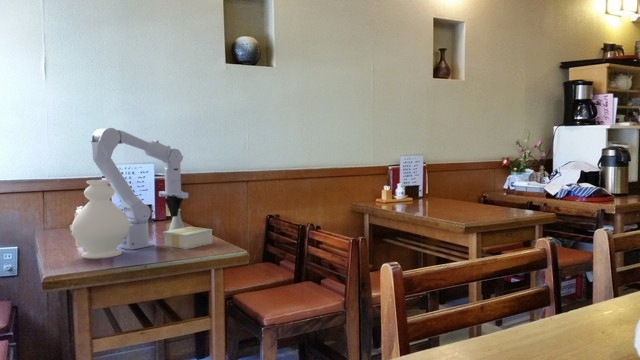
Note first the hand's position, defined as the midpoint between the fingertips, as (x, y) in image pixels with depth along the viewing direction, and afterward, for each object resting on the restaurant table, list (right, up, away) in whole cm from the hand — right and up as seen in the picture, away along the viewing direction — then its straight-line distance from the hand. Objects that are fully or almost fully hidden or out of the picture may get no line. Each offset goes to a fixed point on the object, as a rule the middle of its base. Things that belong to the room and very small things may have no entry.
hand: (174, 216), depth 197 cm
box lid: (+7, -5, -7) cm, 11 cm away
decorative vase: (-18, -12, -22) cm, 31 cm away
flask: (-4, -9, +18) cm, 20 cm away
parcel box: (+7, -10, -7) cm, 14 cm away
